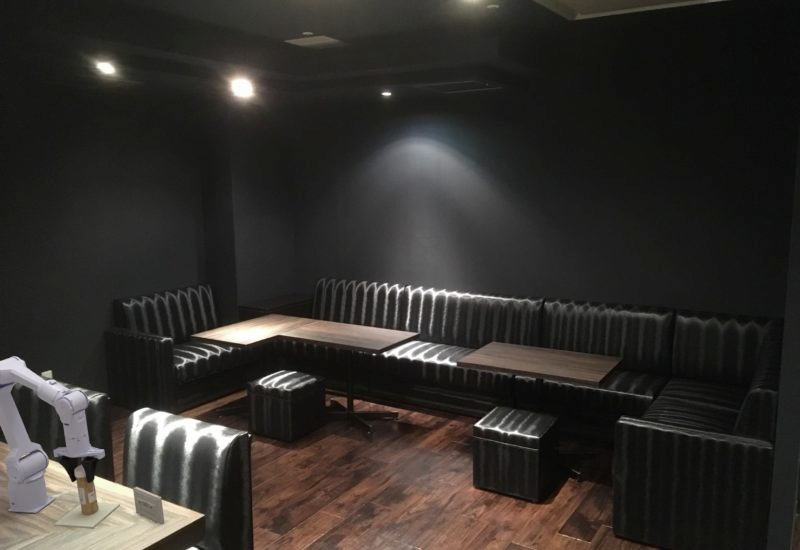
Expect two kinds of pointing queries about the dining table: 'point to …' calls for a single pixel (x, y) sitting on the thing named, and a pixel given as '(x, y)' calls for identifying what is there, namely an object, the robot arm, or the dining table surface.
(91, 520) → the sage mat
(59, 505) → the dining table surface
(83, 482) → the sprinkles bottle
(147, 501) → the cassette
